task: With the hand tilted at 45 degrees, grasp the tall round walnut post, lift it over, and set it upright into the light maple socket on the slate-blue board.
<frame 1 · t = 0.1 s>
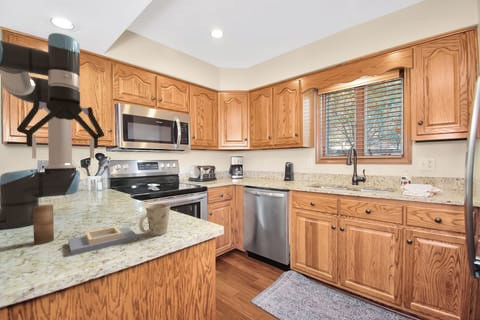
hand: (65, 158, 66), 28 cm above the worktop, tool pointing down, fingers open, 13 cm apart
post: (44, 241, 73), on the worktop
board: (103, 241, 72), on the worktop
mug: (154, 235, 79), on the worktop
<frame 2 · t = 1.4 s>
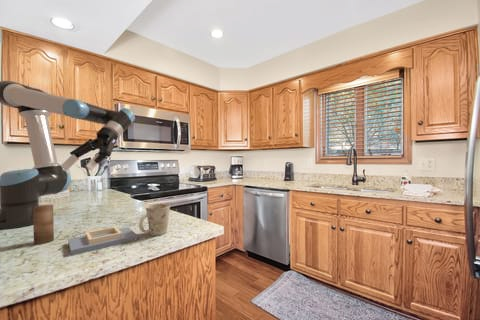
hand: (75, 168, 83), 24 cm above the worktop, tool tilted 45°, fingers open, 13 cm apart
nothing on the worktop moved.
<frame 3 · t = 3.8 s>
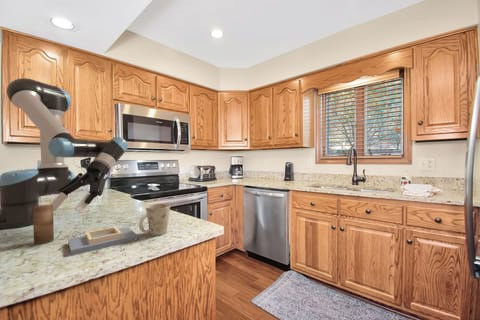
hand: (64, 210, 77), 10 cm above the worktop, tool tilted 45°, fingers open, 13 cm apart
nothing on the worktop moved.
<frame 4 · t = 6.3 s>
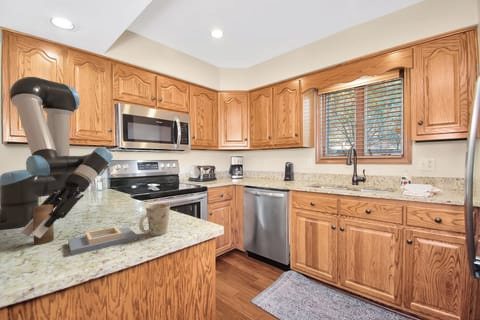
hand: (30, 234, 69), 3 cm above the worktop, tool tilted 45°, fingers closed on post, 5 cm apart
post: (43, 241, 73), on the worktop, touching gripper
everything else where it was.
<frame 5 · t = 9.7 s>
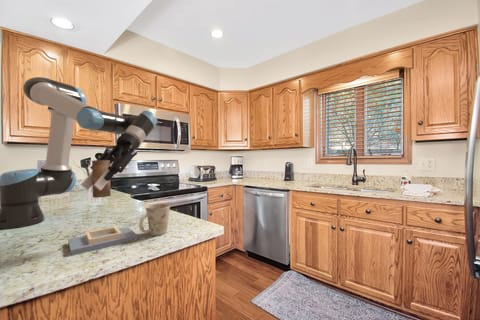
hand: (90, 187, 69), 19 cm above the worktop, tool tilted 45°, fingers closed on post, 5 cm apart
post: (101, 196, 72), point 15 cm above the worktop, touching gripper
everything else where it was.
when the fingers open (6 cm above the worktop, at t = 13.0 s): post stays where it is, resting on board.
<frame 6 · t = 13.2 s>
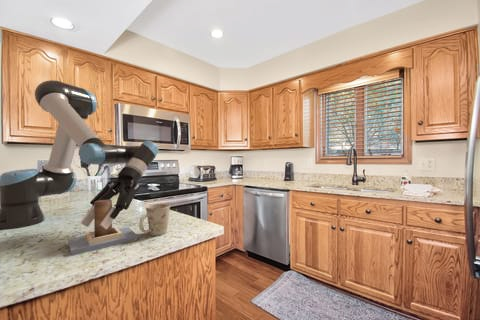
hand: (93, 225, 69), 6 cm above the worktop, tool tilted 45°, fingers open, 8 cm apart
post: (103, 236, 72), point 2 cm above the worktop, touching board
everything else where it was.
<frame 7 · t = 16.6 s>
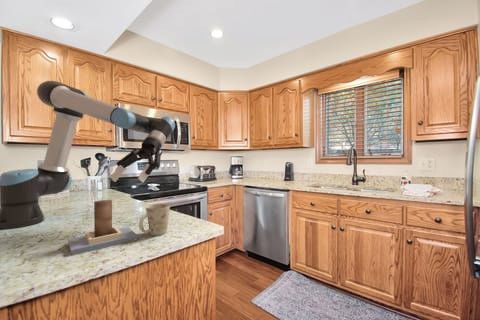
hand: (126, 180, 81), 20 cm above the worktop, tool tilted 45°, fingers open, 13 cm apart
nothing on the worktop moved.
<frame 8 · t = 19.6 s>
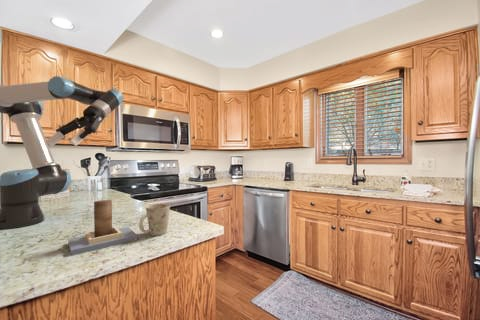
hand: (60, 143, 83), 34 cm above the worktop, tool tilted 45°, fingers open, 13 cm apart
nothing on the worktop moved.
at the end: post 0.1 cm off-centre on the board, point 1.5 cm above the board's base; post tilted 0°; the gripper is holding nothing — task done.
